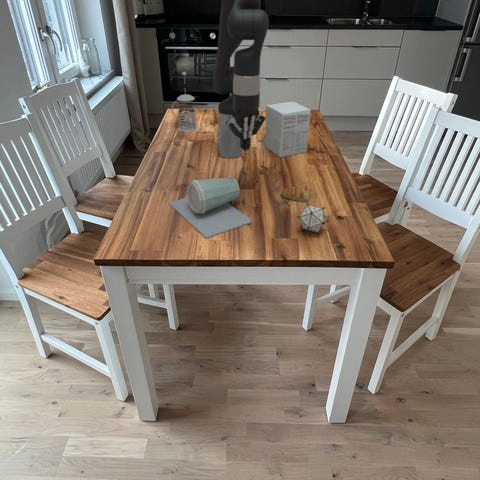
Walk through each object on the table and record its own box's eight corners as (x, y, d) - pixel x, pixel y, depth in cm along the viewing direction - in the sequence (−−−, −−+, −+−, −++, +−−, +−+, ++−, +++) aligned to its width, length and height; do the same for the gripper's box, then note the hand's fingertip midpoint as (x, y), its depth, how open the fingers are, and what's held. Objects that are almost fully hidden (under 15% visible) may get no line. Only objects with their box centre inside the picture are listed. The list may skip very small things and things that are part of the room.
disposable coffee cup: (226, 169, 134) (182, 178, 128) (241, 173, 125) (195, 183, 119) (230, 200, 137) (188, 211, 131) (245, 207, 128) (201, 218, 122)
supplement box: (307, 152, 170) (311, 109, 161) (279, 157, 166) (282, 114, 156) (290, 141, 180) (293, 100, 170) (263, 146, 175) (265, 104, 166)
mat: (168, 203, 134) (168, 202, 133) (211, 191, 141) (211, 190, 141) (206, 238, 117) (206, 237, 117) (252, 222, 125) (252, 221, 124)
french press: (197, 132, 189) (194, 74, 175) (171, 131, 189) (166, 74, 175) (199, 125, 197) (196, 69, 183) (174, 124, 197) (170, 69, 183)
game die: (303, 238, 124) (292, 207, 124) (331, 229, 123) (320, 197, 123) (305, 241, 115) (293, 207, 115) (334, 231, 114) (322, 196, 114)
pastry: (280, 200, 136) (281, 190, 134) (281, 191, 142) (282, 181, 140) (309, 202, 135) (310, 192, 133) (309, 193, 141) (310, 183, 139)
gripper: (258, 84, 121) (256, 141, 131) (219, 90, 115) (220, 149, 125) (273, 90, 116) (270, 149, 126) (233, 97, 110) (233, 158, 120)
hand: (245, 149), depth 126 cm, fingers closed
